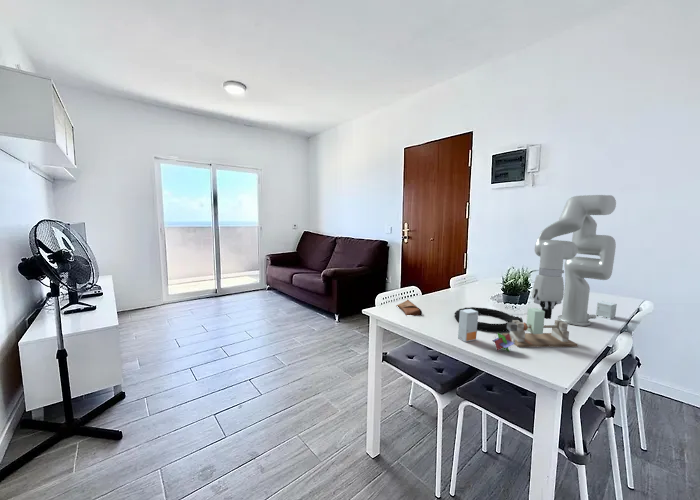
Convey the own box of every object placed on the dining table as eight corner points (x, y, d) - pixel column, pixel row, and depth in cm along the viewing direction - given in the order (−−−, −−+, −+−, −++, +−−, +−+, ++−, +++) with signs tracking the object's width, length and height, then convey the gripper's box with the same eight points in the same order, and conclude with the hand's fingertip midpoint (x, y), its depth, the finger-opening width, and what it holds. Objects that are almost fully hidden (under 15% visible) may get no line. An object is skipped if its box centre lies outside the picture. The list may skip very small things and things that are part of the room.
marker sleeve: (535, 329, 121) (537, 308, 120) (542, 334, 117) (544, 311, 116) (525, 329, 121) (527, 308, 120) (533, 334, 116) (535, 311, 115)
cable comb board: (556, 335, 125) (558, 317, 124) (577, 346, 114) (579, 326, 114) (500, 335, 124) (501, 317, 123) (516, 347, 113) (517, 327, 112)
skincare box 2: (595, 315, 152) (596, 302, 151) (600, 314, 155) (602, 300, 154) (610, 319, 147) (612, 305, 146) (615, 317, 150) (617, 303, 149)
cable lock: (450, 304, 157) (512, 308, 151) (450, 311, 157) (511, 315, 151) (459, 322, 130) (534, 328, 124) (458, 330, 130) (533, 336, 124)
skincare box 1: (465, 342, 117) (467, 313, 115) (457, 338, 120) (459, 310, 119) (476, 340, 119) (478, 311, 118) (468, 336, 123) (470, 308, 122)
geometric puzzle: (497, 350, 106) (510, 331, 106) (484, 342, 112) (496, 325, 113) (510, 359, 107) (522, 342, 108) (496, 351, 114) (508, 334, 114)
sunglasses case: (394, 305, 165) (400, 295, 165) (404, 311, 166) (410, 300, 166) (406, 316, 147) (413, 304, 147) (417, 322, 148) (424, 311, 148)
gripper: (561, 271, 120) (556, 314, 122) (525, 270, 120) (522, 314, 122) (576, 274, 113) (571, 321, 115) (538, 274, 112) (534, 321, 114)
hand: (546, 317), depth 118 cm, fingers closed
